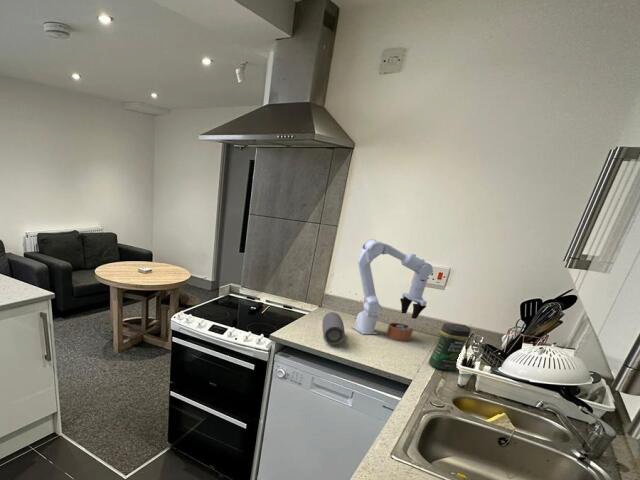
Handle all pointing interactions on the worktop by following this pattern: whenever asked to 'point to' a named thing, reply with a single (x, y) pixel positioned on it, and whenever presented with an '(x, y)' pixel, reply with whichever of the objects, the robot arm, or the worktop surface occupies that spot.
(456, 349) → the coffee jar
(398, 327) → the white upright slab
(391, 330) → the reddish brown oval basket
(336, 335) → the bluetooth speaker
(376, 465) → the worktop surface
